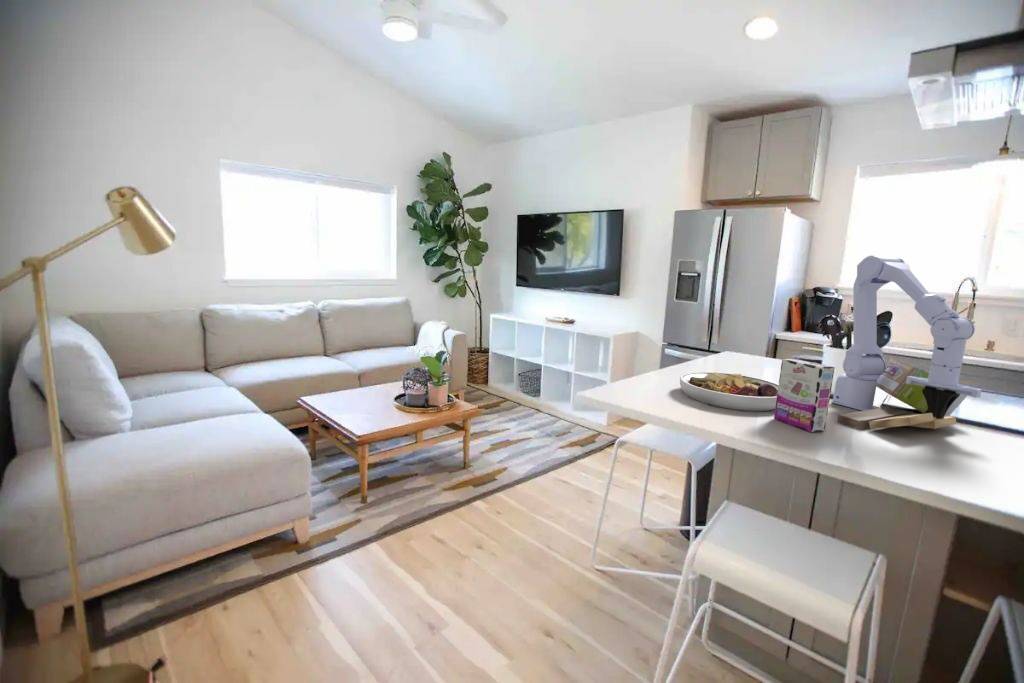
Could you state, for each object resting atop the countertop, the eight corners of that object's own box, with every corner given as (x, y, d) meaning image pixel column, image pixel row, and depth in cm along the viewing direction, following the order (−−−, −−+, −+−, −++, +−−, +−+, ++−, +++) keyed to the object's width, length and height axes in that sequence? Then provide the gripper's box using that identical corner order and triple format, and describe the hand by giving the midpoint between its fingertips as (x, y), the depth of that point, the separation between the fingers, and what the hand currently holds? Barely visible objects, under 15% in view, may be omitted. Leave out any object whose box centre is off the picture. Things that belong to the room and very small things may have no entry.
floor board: (837, 421, 127) (838, 413, 127) (887, 413, 138) (888, 405, 137) (861, 429, 122) (863, 420, 121) (912, 419, 132) (913, 411, 132)
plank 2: (892, 424, 126) (892, 417, 126) (914, 420, 131) (913, 413, 131) (934, 428, 118) (934, 420, 118) (956, 424, 123) (955, 416, 123)
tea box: (917, 409, 144) (868, 382, 147) (941, 382, 141) (891, 355, 144) (942, 424, 130) (888, 394, 133) (970, 394, 127) (914, 364, 130)
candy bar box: (826, 431, 119) (836, 366, 116) (811, 433, 117) (821, 367, 114) (786, 417, 129) (795, 357, 127) (772, 418, 127) (781, 358, 125)
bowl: (658, 389, 153) (660, 365, 152) (725, 383, 166) (728, 361, 165) (736, 419, 126) (740, 390, 125) (810, 409, 139) (814, 383, 138)
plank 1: (870, 429, 121) (868, 421, 122) (893, 424, 126) (891, 417, 126) (911, 425, 113) (908, 417, 114) (934, 420, 118) (931, 412, 118)
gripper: (903, 360, 125) (894, 410, 127) (975, 372, 112) (964, 428, 114) (917, 359, 128) (909, 408, 130) (989, 370, 115) (978, 425, 117)
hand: (935, 417), depth 122 cm, fingers closed
